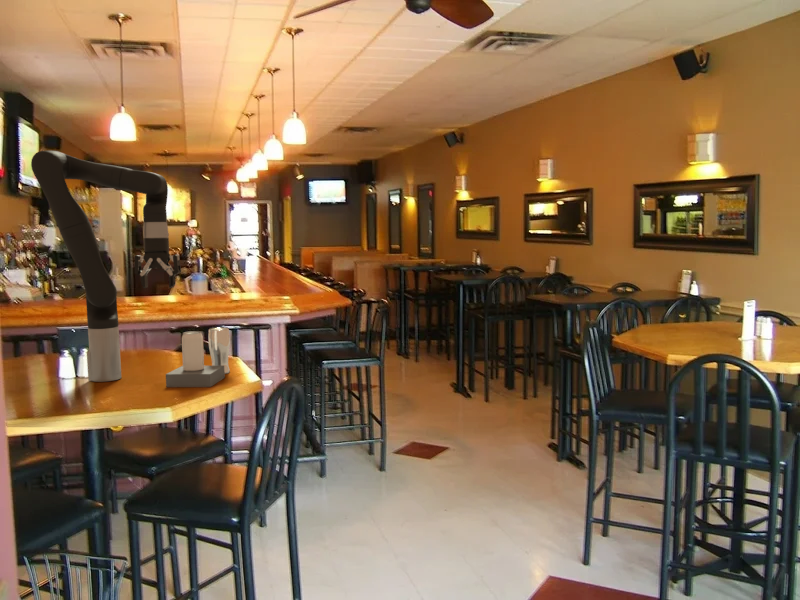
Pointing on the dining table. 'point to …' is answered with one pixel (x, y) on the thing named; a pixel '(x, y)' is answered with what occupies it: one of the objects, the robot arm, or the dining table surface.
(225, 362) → the beer glass
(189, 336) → the can
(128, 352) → the dining table surface
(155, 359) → the dining table surface
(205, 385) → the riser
